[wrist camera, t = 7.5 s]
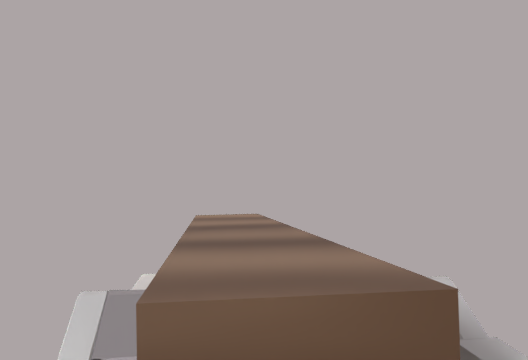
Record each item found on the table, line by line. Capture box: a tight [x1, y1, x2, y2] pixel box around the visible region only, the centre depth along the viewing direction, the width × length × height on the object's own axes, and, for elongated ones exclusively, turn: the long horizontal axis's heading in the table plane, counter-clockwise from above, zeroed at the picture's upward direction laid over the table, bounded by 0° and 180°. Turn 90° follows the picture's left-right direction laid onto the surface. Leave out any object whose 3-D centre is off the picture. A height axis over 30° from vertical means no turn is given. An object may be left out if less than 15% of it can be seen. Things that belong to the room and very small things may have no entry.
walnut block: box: [136, 214, 460, 360], centre depth 19 cm, size 26×4×3 cm, turn 6°
